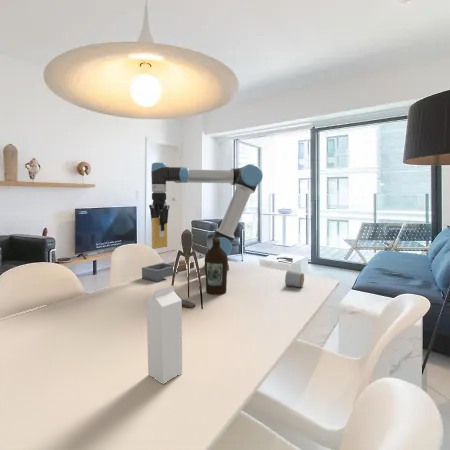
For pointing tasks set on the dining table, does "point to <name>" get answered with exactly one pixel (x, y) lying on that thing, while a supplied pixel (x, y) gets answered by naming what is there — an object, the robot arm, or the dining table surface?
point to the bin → (157, 272)
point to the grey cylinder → (294, 278)
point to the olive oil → (216, 269)
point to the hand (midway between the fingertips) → (159, 236)
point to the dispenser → (183, 265)
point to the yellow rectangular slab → (156, 240)
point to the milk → (164, 334)
